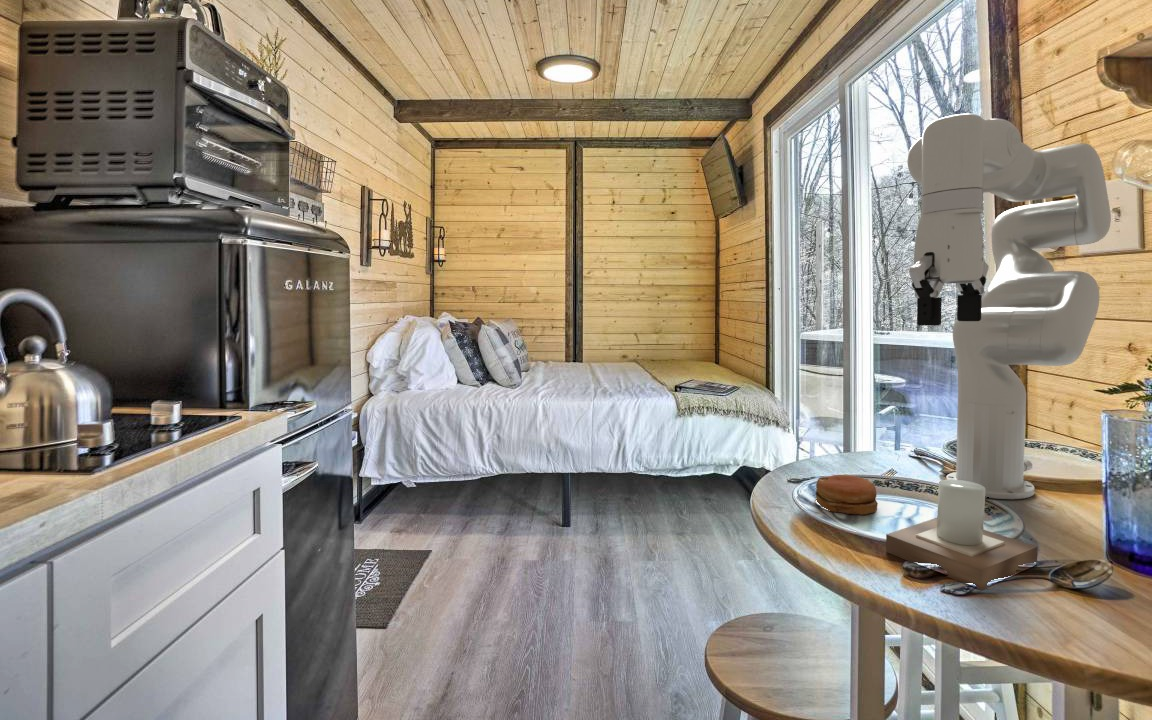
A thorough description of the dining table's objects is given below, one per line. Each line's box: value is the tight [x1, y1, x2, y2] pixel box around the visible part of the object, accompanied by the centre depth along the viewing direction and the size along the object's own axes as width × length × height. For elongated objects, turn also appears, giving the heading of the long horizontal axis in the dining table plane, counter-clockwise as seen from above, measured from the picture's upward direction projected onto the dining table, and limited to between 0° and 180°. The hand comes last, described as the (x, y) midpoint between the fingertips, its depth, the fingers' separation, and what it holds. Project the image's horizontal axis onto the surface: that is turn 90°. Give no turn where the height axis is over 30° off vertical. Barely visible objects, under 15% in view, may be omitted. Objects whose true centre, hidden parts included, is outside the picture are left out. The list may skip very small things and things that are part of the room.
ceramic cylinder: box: [936, 479, 986, 546], centre depth 74 cm, size 5×5×7 cm
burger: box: [814, 474, 879, 516], centre depth 95 cm, size 10×9×5 cm
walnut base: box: [885, 517, 1038, 591], centre depth 74 cm, size 12×12×3 cm
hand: (949, 323), depth 84 cm, fingers open, 9 cm apart
